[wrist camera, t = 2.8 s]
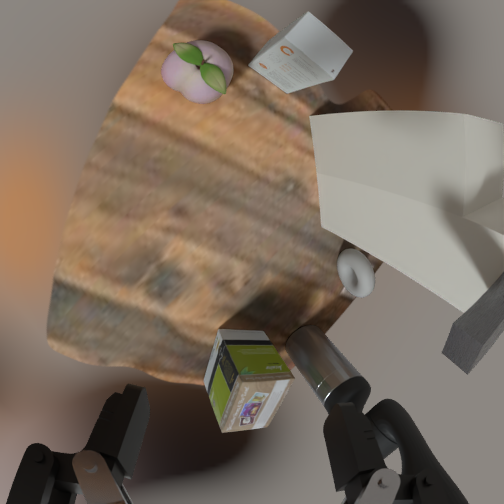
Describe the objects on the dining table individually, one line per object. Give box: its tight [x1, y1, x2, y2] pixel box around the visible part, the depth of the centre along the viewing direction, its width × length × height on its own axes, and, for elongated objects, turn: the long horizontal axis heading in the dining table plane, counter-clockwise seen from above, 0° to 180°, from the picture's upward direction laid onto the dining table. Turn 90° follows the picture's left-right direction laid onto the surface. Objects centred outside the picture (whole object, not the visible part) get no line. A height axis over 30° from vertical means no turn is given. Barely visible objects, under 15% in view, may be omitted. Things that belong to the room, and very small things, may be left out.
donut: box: [337, 248, 375, 297], centre depth 49 cm, size 10×4×10 cm, turn 15°
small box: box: [248, 12, 353, 94], centre depth 29 cm, size 8×6×13 cm
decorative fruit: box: [161, 40, 234, 104], centre depth 28 cm, size 9×8×10 cm
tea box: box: [204, 329, 295, 433], centre depth 47 cm, size 15×10×15 cm, turn 162°
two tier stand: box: [309, 110, 504, 313], centre depth 31 cm, size 14×20×34 cm
